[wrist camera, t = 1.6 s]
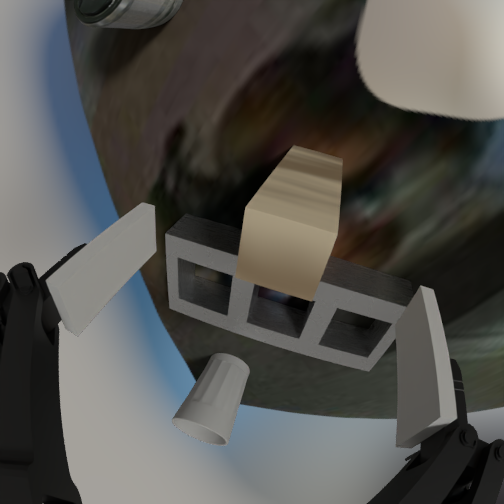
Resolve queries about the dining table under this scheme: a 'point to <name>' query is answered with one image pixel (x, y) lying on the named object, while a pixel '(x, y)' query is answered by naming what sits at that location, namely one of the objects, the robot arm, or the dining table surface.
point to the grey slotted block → (278, 315)
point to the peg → (292, 224)
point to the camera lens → (125, 13)
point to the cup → (214, 400)
